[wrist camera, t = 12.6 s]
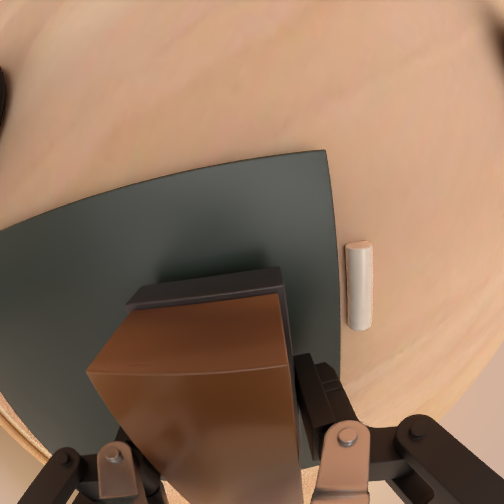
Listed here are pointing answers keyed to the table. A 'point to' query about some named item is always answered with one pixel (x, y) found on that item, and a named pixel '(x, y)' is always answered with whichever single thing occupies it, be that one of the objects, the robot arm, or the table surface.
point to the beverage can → (2, 95)
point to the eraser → (209, 387)
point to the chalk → (359, 284)
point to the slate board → (157, 277)
